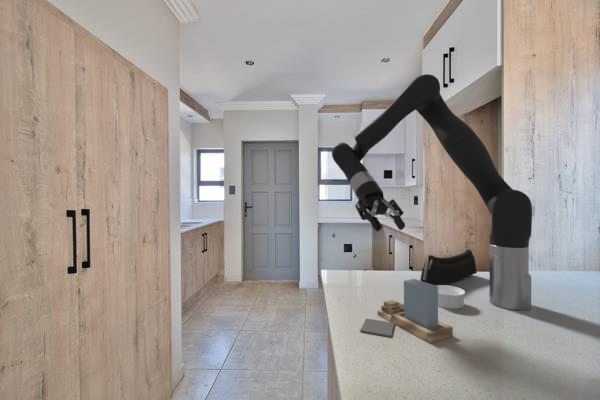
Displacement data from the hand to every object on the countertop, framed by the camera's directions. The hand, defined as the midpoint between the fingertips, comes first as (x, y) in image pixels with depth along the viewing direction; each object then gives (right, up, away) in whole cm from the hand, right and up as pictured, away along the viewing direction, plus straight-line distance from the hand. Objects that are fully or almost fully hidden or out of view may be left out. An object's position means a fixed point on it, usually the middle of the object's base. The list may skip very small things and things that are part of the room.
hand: (391, 228), depth 82 cm
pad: (-7, -23, -12) cm, 27 cm away
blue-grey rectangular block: (+3, -23, -12) cm, 26 cm away
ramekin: (+18, -23, +3) cm, 29 cm away
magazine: (+29, -22, +24) cm, 44 cm away
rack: (+2, -23, -10) cm, 25 cm away
